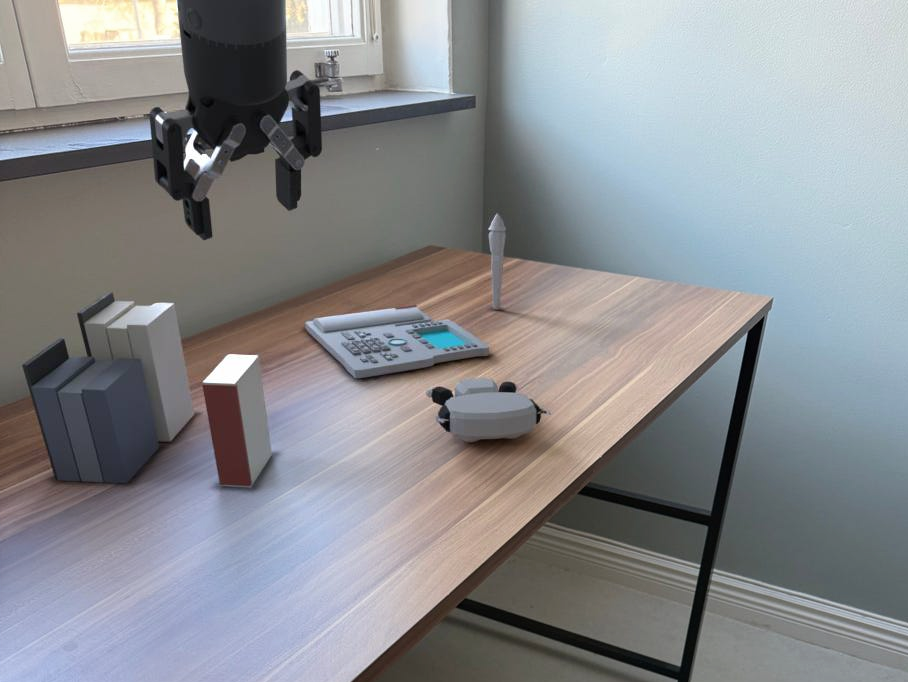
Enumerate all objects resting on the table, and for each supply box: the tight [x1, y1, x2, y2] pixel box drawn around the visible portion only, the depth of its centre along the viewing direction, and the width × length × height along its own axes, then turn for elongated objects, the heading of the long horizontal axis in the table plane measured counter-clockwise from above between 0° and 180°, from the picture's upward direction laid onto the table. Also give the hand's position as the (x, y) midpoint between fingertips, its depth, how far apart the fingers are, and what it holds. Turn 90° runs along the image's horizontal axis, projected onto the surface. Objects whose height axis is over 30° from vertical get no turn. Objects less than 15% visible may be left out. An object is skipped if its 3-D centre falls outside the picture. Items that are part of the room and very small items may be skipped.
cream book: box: [202, 353, 273, 489], centre depth 94 cm, size 3×8×11 cm, turn 175°
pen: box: [487, 212, 507, 311], centre depth 140 cm, size 2×3×14 cm
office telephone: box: [304, 304, 490, 379], centre depth 130 cm, size 23×3×20 cm
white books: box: [76, 291, 195, 443], centre depth 102 cm, size 7×8×14 cm
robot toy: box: [425, 377, 552, 443], centre depth 106 cm, size 12×4×15 cm
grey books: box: [21, 337, 160, 484], centre depth 95 cm, size 8×9×12 cm
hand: (245, 219), depth 79 cm, fingers open, 8 cm apart
